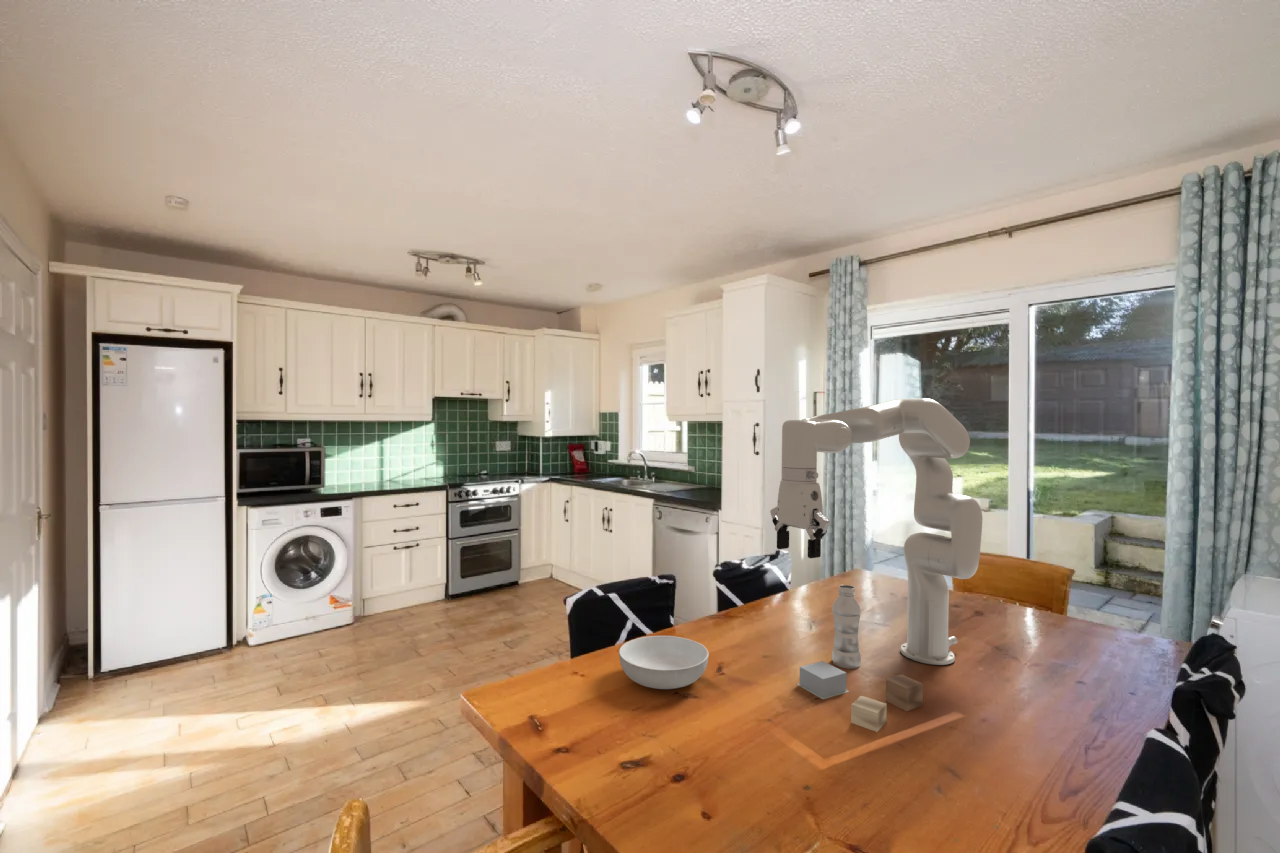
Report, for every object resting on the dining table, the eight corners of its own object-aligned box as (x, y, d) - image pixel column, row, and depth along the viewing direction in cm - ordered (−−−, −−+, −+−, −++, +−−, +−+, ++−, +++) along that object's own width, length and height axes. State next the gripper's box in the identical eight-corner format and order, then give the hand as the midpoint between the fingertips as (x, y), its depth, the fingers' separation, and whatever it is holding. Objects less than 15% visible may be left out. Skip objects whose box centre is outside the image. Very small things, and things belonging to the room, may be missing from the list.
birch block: (860, 720, 117) (861, 695, 117) (886, 729, 114) (886, 703, 114) (851, 729, 113) (851, 704, 113) (877, 739, 110) (877, 713, 110)
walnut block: (901, 701, 125) (901, 674, 125) (922, 712, 120) (922, 683, 120) (885, 707, 122) (886, 678, 122) (906, 717, 118) (906, 688, 118)
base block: (822, 678, 133) (822, 660, 133) (846, 690, 127) (846, 672, 127) (799, 684, 130) (799, 666, 129) (823, 697, 123) (823, 679, 123)
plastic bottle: (863, 675, 137) (864, 591, 137) (833, 672, 139) (834, 589, 139) (858, 664, 144) (859, 584, 144) (830, 661, 145) (830, 582, 145)
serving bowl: (719, 671, 139) (720, 642, 139) (690, 710, 120) (690, 677, 120) (641, 655, 148) (641, 629, 148) (602, 689, 129) (602, 659, 129)
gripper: (841, 478, 122) (840, 559, 122) (784, 472, 137) (784, 543, 137) (815, 480, 119) (814, 563, 119) (760, 473, 134) (759, 546, 134)
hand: (798, 552), depth 128 cm, fingers open, 9 cm apart
